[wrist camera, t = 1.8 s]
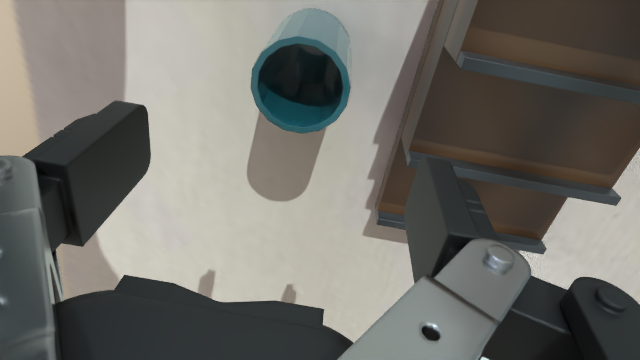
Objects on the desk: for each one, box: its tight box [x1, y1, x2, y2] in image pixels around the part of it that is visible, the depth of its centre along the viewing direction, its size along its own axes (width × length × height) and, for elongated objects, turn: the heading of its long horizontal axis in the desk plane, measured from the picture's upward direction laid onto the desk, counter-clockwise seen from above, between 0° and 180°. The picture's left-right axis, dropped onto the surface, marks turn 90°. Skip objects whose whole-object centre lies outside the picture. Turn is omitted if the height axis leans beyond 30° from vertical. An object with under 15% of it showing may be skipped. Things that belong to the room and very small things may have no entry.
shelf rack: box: [375, 0, 640, 254], centre depth 26 cm, size 15×24×12 cm, turn 170°
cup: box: [251, 9, 351, 133], centre depth 27 cm, size 6×6×8 cm
